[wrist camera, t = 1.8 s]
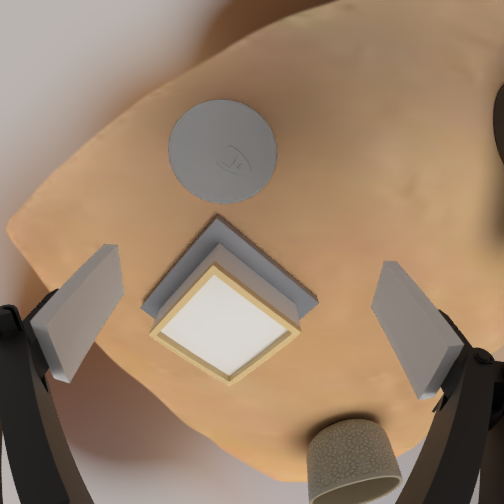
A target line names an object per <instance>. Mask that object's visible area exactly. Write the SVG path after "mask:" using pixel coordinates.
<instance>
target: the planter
mask: <svg viewBox="0 0 504 504" xmlns="http://www.w3.org/2000/svg"><path fill="white" fill-rule="evenodd" d="M307 474H308V491H309V503H310V504H366V503H369V502H372V501H374V500H377V499H379V498H381V497H383V496H385V495H387V494H389V493H391V492H392V491H394V490H395V489H396V488H398V487H399V486H400V484H401V483H402V481H403V480H402V476H401V472H400V469H399V466H398V463H397V460H396V457H395V455H394V452H393V449H392V447H391V444H390V441H389V438H388V436H387V434H386V432H385V431H384V429H383V428H382V427H381V426H380V425H378V424H377V423H375V422H373V421H370V420H365V419H348V420H343V421H340V422H337V423H334V424H332V425H330V426H328V427H326V428H325V429H323V430H322V431H320V432H319V433H318V434H317V435H316V436H315V437H314V438H313V439H312V441H311V442H310V444H309V447H308V450H307Z"/></svg>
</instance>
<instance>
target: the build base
mask: <svg viewBox="0 0 504 504" xmlns="http://www.w3.org/2000/svg"><path fill="white" fill-rule="evenodd" d="M317 304H319V302H318V299H317V296H315V295H314V294H313V293H312V292H311V291H310V290H308V289H307V288H306V287H305V286H304V285H302V284H301V283H300V282H299V281H298V280H297V279H295V278H294V277H293V276H292V275H291V274H289V273H288V272H287V271H286V270H285V269H283V268H282V267H281V266H280V265H279V264H278V263H276V262H275V261H274V260H273V259H272V258H270V257H269V256H268V255H267V254H266V253H264V252H263V251H262V250H261V249H260V248H258V247H257V246H256V245H255V244H254V243H252V242H251V241H250V240H249V239H248V238H247V237H245V236H244V235H243V234H242V233H241V232H239V231H238V230H237V229H236V228H235V227H233V226H232V225H231V224H230V223H229V222H227V221H226V220H225V219H224V218H223V217H221V216H220V215H219V214H218V215H217V216H216V218H215V219H214V220H213V221H212V222H211V223H210V224H209V225H208V227H207V228H206V229H205V230H204V231H203V232H202V233H201V235H200V236H199V237H198V238H197V239H196V240H195V241H194V243H193V244H192V245H191V246H190V247H189V248H188V250H187V251H186V252H185V253H184V254H183V255H182V257H181V258H180V259H179V260H178V261H177V262H176V264H175V265H174V266H173V267H172V268H171V270H170V271H169V272H168V273H167V274H166V276H165V277H164V278H163V279H162V280H161V282H160V283H159V284H158V285H157V286H156V288H155V289H154V290H153V291H152V292H151V294H150V295H149V296H148V297H147V299H146V300H145V301H144V302H143V304H142V306H141V309H142V310H144V311H145V312H146V313H148V314H149V315H150V316H152V317H153V318H155V321H154V324H153V326H152V328H151V330H150V333H149V336H150V337H152V338H153V339H155V340H156V341H158V342H159V343H160V344H162V345H163V346H165V347H166V348H168V349H169V350H171V351H172V352H174V353H175V354H177V355H179V356H180V357H182V358H183V359H185V360H186V361H188V362H189V363H191V364H193V365H194V366H196V367H197V368H199V369H201V370H202V371H204V372H206V373H207V374H209V375H211V376H212V377H214V378H216V379H217V380H219V381H221V382H222V383H224V384H226V385H228V386H229V387H230V386H232V385H233V384H235V383H236V382H238V381H239V380H240V379H242V378H243V377H244V376H246V375H247V374H249V373H250V372H251V371H253V370H254V369H255V368H257V367H258V366H259V365H261V364H262V363H263V362H265V361H266V360H267V359H269V358H270V357H271V356H273V355H274V354H275V353H277V352H278V351H279V350H281V349H282V348H283V347H284V346H286V345H287V344H288V343H289V342H291V341H292V340H293V339H295V338H296V337H297V336H298V335H299V334H301V333H302V332H301V327H300V322H299V320H300V319H301V318H302V317H303V316H305V315H306V314H307V313H308V312H309V311H310V310H312V309H313V308H314V307H315V306H316V305H317Z"/></svg>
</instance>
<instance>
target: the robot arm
mask: <svg viewBox="0 0 504 504" xmlns="http://www.w3.org/2000/svg"><path fill="white" fill-rule="evenodd" d="M494 131H495V138H496V143H497V147H498V151H499V154H500V156H501V158H502V161H503V163H504V85H503V86H502V88H501V89H500V91H499V93H498V96H497V99H496V103H495V109H494ZM123 295H124V287H123V280H122V274H121V266H120V258H119V250H118V245H112V244H104V245H103V246H102V247H101V248H100V249H99V250H98V251H97V252H96V253H95V254H94V255H93V256H92V257H91V258H89V259H88V260H87V261H86V262H85V263H84V264H83V265H82V266H81V267H80V268H79V269H78V270H77V271H76V272H75V273H74V274H73V275H72V276H71V277H70V278H69V279H68V281H67V282H66V283H65V284H64V285H63V286H62V287H61V288H60V289H55V290H54V291H52V292H50V293H49V294H47V295H46V296H45V297H44V299H43V300H42V301H41V302H40V303H39V304H38V305H37V306H36V308H34V309H33V310H32V311H31V313H30V314H29V315H28V316H27V317H26V318H25V319H24V320H23V321H22V320H21V318H20V315H19V312H18V309H17V307H15V306H14V305H3V306H0V504H3V499H2V477H1V454H2V451H1V450H2V432H3V435H4V440H5V446H6V450H7V455H8V460H9V464H10V468H11V472H12V476H13V479H14V483H15V486H16V490H17V493H18V496H19V499H20V502H21V504H94V502H93V500H92V498H91V496H90V494H89V492H88V490H87V488H86V486H85V484H84V482H83V480H82V478H81V476H80V473H79V471H78V468H77V466H76V464H75V461H74V459H73V456H72V454H71V451H70V449H69V446H68V444H67V441H66V438H65V435H64V433H63V430H62V427H61V424H60V421H59V418H58V415H57V412H56V409H55V405H54V402H53V398H52V395H51V392H50V387H49V383H48V380H47V378H46V376H45V373H46V372H47V370H48V368H49V369H50V371H51V373H52V375H53V377H54V378H55V379H58V380H61V381H65V382H68V383H70V381H71V379H72V378H73V376H74V374H75V372H76V371H77V369H78V367H79V365H80V364H81V362H82V360H83V359H84V357H85V355H86V354H87V352H88V350H89V348H90V347H91V345H92V343H93V342H94V340H95V339H96V337H97V335H98V334H99V332H100V330H101V329H102V327H103V326H104V324H105V322H106V321H107V319H108V318H109V316H110V315H111V313H112V311H113V310H114V308H115V307H116V305H117V304H118V302H119V301H120V299H121V298H122V296H123ZM371 308H372V310H373V311H374V313H375V315H376V317H377V319H378V321H379V322H380V324H381V326H382V328H383V330H384V332H385V334H386V336H387V337H388V339H389V341H390V343H391V345H392V347H393V349H394V351H395V353H396V355H397V357H398V359H399V361H400V363H401V365H402V367H403V369H404V371H405V373H406V375H407V377H408V379H409V381H410V383H411V385H412V387H413V389H414V391H415V394H416V396H417V398H418V400H423V399H429V398H434V396H435V395H436V393H437V392H438V390H439V388H440V387H441V388H442V390H443V392H444V394H443V396H442V397H441V399H440V400H439V402H438V403H437V405H436V406H435V408H434V409H433V411H432V412H435V411H436V413H435V416H434V419H433V422H432V424H431V427H430V430H429V432H428V435H427V438H426V440H425V442H424V445H423V447H422V450H421V452H420V455H419V457H418V459H417V461H416V463H415V466H414V468H413V470H412V472H411V474H410V476H409V478H408V480H407V482H406V484H405V486H404V488H403V490H402V492H401V494H400V496H399V498H398V499H397V501H396V503H395V504H470V501H471V498H472V495H473V492H474V488H475V485H476V481H477V478H478V474H479V470H480V488H479V489H480V490H479V502H478V504H504V362H500V361H495V360H494V358H493V356H492V355H491V354H490V353H489V352H488V351H486V350H484V349H481V348H473V347H472V346H471V345H470V343H469V342H468V341H467V339H466V338H465V337H464V335H463V334H462V333H461V332H460V330H458V328H457V326H456V325H455V324H454V323H453V321H452V320H451V319H450V318H449V316H448V315H446V314H445V313H444V312H442V311H441V310H437V308H436V307H435V306H434V305H433V303H432V302H431V301H430V300H429V299H428V297H427V296H426V295H425V294H424V293H423V291H422V290H421V289H420V288H419V287H418V285H417V284H416V283H415V282H414V281H413V280H412V278H411V277H410V276H409V275H408V274H407V273H406V271H405V270H404V269H403V268H402V267H401V266H400V265H399V264H398V262H396V261H384V262H383V266H382V270H381V274H380V278H379V281H378V285H377V289H376V292H375V296H374V299H373V303H372V306H371ZM436 409H437V410H436Z"/></svg>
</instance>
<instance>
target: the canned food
mask: <svg viewBox="0 0 504 504" xmlns="http://www.w3.org/2000/svg"><path fill="white" fill-rule="evenodd" d="M168 152H169V161H170V164H171V167H172V170H173V172H174V174H175V176H176V177H177V179H178V180H179V182H180V183H181V184H182V185H183V186H184V187H185V188H186V189H187V190H188V191H189V192H191V193H192V194H193V195H195V196H197V197H199V198H200V199H203V200H206V201H209V202H212V203H219V204H232V203H236V202H241V201H244V200H246V199H248V198H251V197H252V196H254V195H255V194H256V193H258V192H259V191H260V190H261V189H262V188H263V187H264V186H265V185H266V184H267V182H268V181H269V179H270V178H271V176H272V174H273V171H274V169H275V166H276V160H277V145H276V141H275V137H274V134H273V132H272V130H271V128H270V126H269V124H268V123H267V122H266V121H265V119H264V118H263V117H262V116H261V115H260V114H259V113H258V112H256V111H255V110H254V109H252V108H251V107H249V106H247V105H245V104H243V103H240V102H237V101H233V100H226V99H219V100H210V101H207V102H203V103H200V104H198V105H196V106H194V107H192V108H191V109H189V110H188V111H187V112H186V113H184V114H183V115H182V117H181V118H180V119H179V120H178V121H177V123H176V125H175V126H174V128H173V130H172V133H171V136H170V139H169V148H168Z"/></svg>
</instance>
